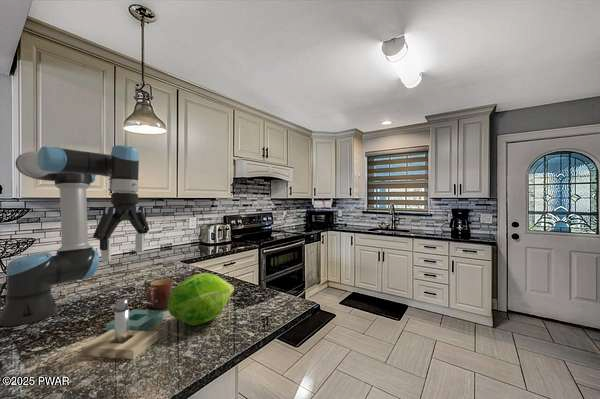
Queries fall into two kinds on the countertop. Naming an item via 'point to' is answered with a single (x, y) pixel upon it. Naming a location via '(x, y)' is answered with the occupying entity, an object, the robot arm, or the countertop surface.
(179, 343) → the countertop surface
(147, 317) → the socket
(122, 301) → the metal cylinder rod
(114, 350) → the wooden square-hole plate
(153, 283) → the mug
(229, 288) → the lettuce
